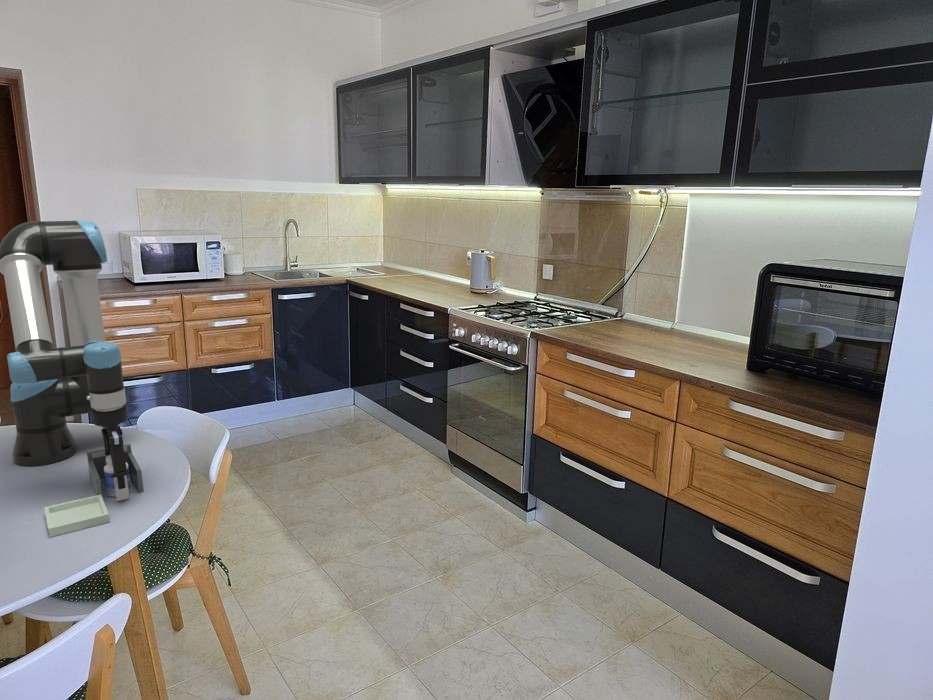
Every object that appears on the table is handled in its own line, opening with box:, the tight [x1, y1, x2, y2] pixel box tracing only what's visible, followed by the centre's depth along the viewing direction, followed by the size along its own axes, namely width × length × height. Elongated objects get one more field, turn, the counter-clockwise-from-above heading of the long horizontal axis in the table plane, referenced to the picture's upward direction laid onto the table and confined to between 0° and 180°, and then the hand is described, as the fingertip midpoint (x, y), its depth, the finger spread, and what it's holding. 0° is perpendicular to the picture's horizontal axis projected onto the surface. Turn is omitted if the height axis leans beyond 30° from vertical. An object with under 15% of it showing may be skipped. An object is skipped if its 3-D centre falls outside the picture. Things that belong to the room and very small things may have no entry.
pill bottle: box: [104, 455, 132, 498], centre depth 158 cm, size 5×5×10 cm
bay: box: [86, 443, 145, 499], centre depth 161 cm, size 14×10×8 cm
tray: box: [43, 494, 111, 538], centre depth 146 cm, size 12×12×2 cm
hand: (119, 491), depth 159 cm, fingers open, 9 cm apart
